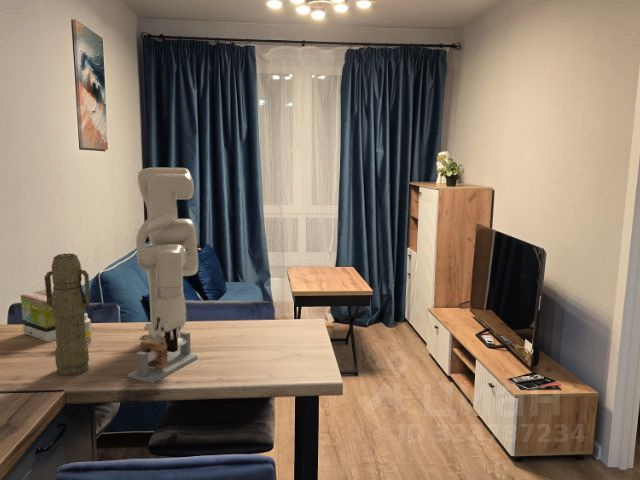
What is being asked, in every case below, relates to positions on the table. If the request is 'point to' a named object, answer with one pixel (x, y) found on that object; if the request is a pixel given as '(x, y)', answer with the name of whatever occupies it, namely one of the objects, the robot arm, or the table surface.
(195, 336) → the table surface
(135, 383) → the table surface
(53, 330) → the tea box
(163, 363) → the collar
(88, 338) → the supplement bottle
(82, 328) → the thermos
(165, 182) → the robot arm
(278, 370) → the table surface
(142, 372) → the pipe stand
